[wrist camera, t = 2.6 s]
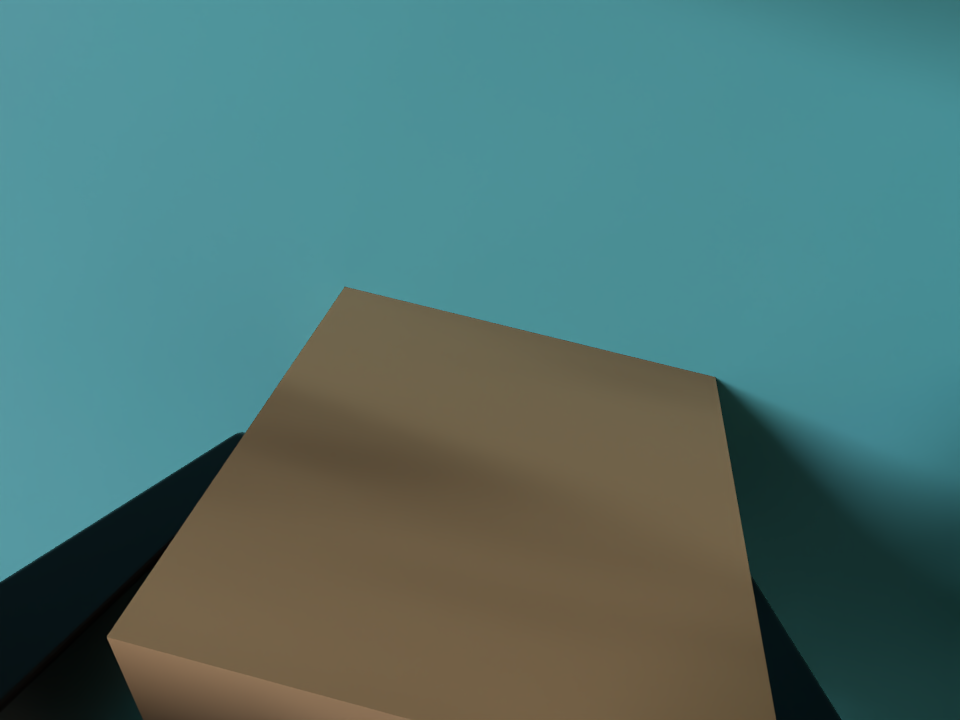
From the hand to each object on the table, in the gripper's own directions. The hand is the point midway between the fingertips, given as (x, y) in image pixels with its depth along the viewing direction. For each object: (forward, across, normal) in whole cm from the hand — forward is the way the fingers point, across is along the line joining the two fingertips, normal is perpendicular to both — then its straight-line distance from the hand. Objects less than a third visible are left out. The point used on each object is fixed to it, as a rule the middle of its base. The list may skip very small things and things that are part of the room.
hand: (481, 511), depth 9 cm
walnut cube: (+1, 0, 0) cm, 1 cm away
